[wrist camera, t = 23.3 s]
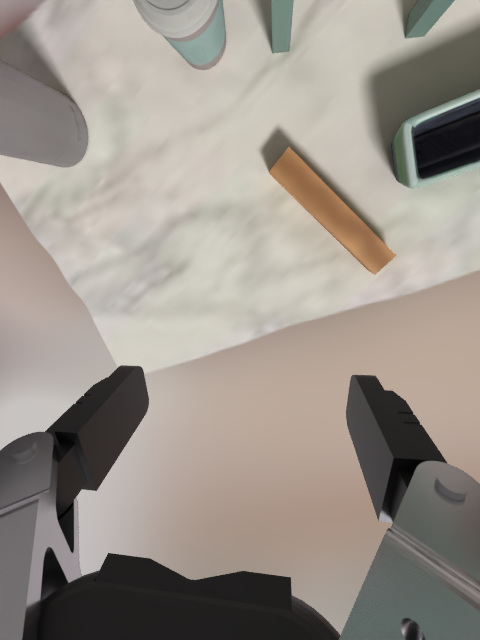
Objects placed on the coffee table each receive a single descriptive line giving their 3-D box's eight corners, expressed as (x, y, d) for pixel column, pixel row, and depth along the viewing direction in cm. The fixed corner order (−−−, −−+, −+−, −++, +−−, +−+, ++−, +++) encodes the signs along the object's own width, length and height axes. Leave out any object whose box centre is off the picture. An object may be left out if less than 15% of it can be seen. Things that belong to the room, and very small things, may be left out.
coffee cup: (251, 23, 32) (238, -74, 21) (213, 99, 35) (185, 49, 24) (190, -28, 31) (143, -159, 20) (157, 54, 34) (100, -19, 23)
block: (367, 269, 41) (374, 274, 38) (270, 174, 38) (269, 171, 35) (386, 252, 40) (396, 255, 37) (287, 152, 37) (288, 146, 34)
